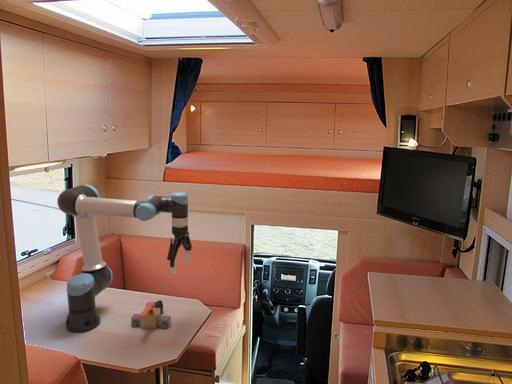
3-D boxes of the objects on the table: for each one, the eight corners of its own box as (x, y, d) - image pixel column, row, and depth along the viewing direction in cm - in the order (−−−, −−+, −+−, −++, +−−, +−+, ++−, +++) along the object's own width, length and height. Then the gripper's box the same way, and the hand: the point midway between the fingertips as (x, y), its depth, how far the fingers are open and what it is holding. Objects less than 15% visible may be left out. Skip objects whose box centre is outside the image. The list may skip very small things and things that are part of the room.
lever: (147, 304, 193) (147, 301, 192) (156, 304, 192) (156, 301, 192) (137, 319, 179) (137, 315, 179) (146, 319, 179) (146, 316, 178)
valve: (130, 327, 190) (129, 309, 188) (135, 320, 196) (134, 302, 195) (167, 329, 188) (167, 311, 187) (171, 321, 195) (171, 304, 194)
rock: (150, 321, 196) (149, 310, 195) (143, 312, 204) (143, 302, 203) (167, 316, 200) (167, 305, 199) (160, 308, 209) (160, 298, 208)
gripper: (174, 233, 177) (174, 278, 181) (198, 219, 200) (198, 260, 204) (158, 231, 179) (159, 276, 183) (185, 218, 202) (185, 258, 206)
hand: (180, 268), depth 194 cm, fingers open, 13 cm apart
